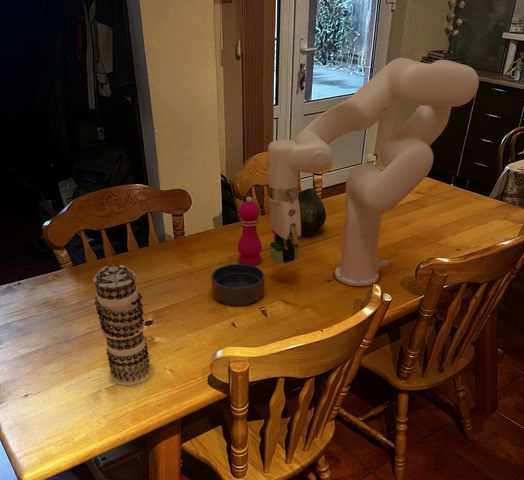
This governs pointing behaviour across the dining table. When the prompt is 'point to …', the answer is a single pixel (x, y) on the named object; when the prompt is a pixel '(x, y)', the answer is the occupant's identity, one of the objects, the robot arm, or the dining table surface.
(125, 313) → the decorative candle
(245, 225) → the pepper mill
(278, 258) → the sponge
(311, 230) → the squash
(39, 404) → the dining table surface
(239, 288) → the bowl
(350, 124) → the robot arm
